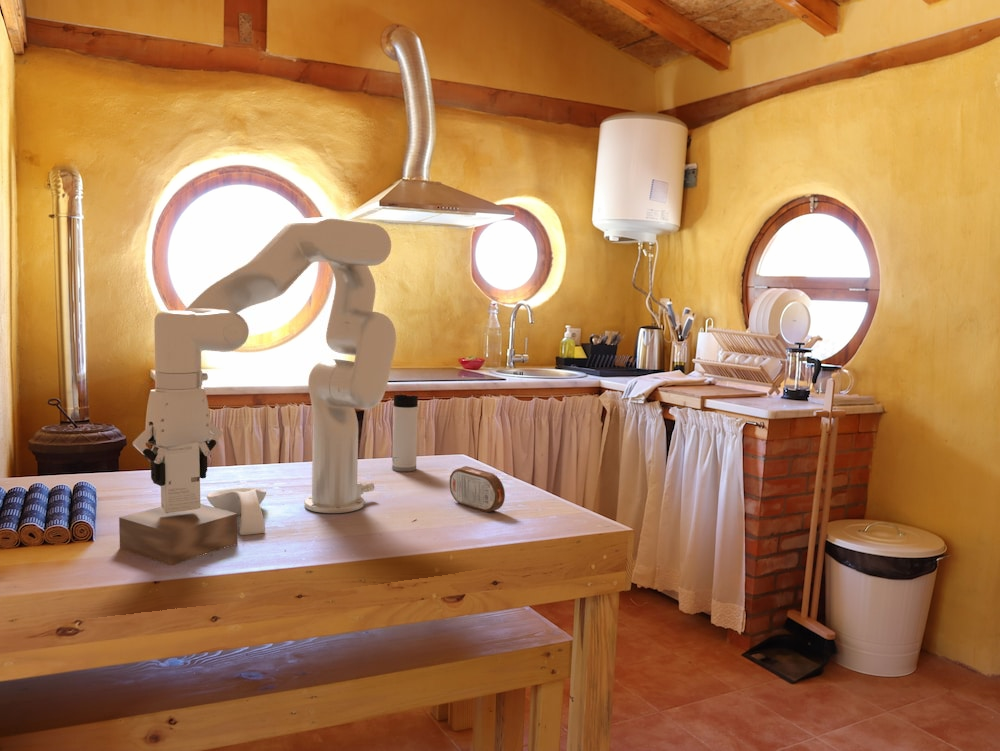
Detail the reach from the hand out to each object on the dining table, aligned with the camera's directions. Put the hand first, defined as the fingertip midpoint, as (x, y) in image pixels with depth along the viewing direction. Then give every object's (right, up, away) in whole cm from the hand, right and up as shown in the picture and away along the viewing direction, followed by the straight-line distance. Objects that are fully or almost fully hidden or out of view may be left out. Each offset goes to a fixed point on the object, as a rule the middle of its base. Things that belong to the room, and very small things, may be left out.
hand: (179, 479), depth 141 cm
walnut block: (-1, -12, +1) cm, 12 cm away
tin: (+52, -11, +33) cm, 62 cm away
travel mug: (+32, -6, +65) cm, 73 cm away
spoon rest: (+5, -11, +19) cm, 23 cm away
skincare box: (0, -5, +1) cm, 5 cm away
